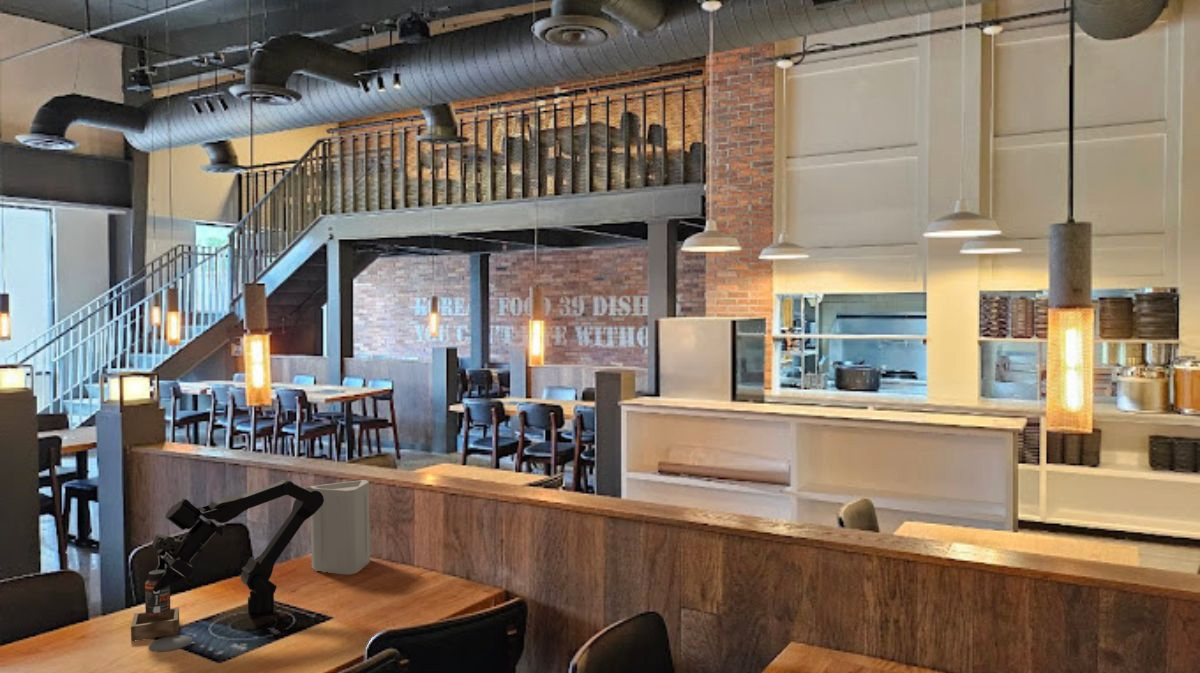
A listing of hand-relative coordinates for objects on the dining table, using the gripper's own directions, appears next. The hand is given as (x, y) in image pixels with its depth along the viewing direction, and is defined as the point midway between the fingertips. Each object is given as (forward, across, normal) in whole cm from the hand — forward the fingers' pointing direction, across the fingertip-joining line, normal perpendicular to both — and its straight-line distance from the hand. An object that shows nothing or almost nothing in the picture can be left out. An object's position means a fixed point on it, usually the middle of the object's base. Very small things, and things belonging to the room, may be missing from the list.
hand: (151, 588), depth 221 cm
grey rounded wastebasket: (-34, -26, +54) cm, 70 cm away
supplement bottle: (+4, 0, +6) cm, 7 cm away
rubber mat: (+8, +8, +11) cm, 16 cm away
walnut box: (+8, -4, +10) cm, 14 cm away
